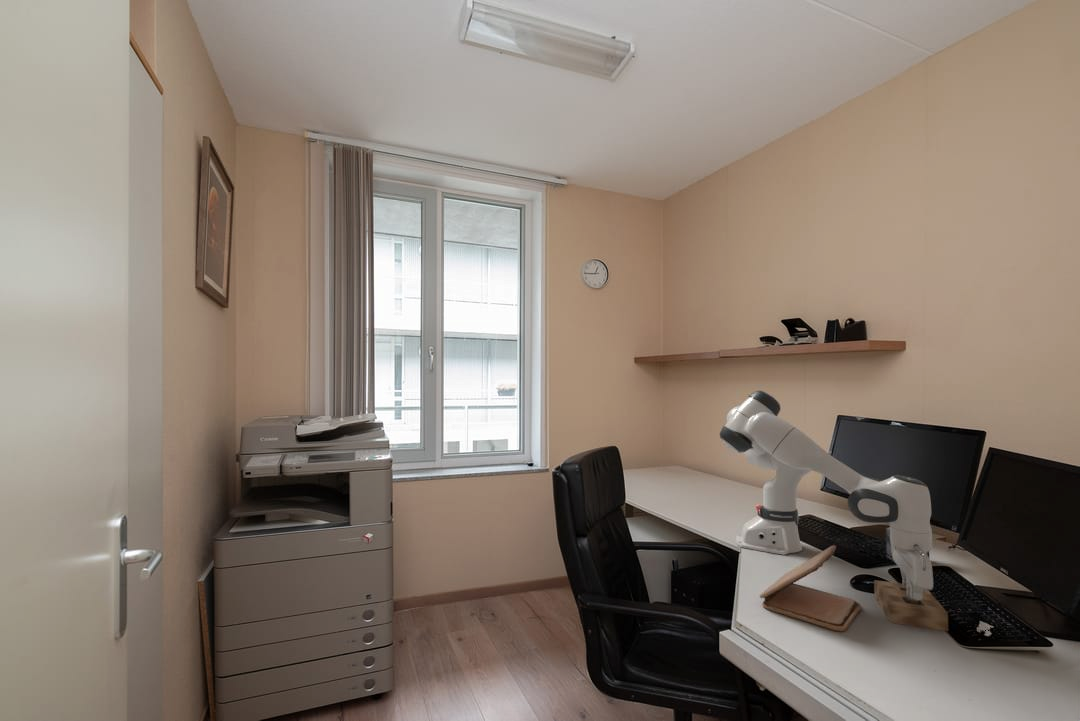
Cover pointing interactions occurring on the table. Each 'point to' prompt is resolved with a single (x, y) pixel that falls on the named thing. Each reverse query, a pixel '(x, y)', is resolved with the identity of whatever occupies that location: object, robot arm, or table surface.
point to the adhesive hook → (984, 628)
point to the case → (810, 598)
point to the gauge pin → (910, 592)
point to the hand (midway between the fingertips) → (912, 592)
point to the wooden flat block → (910, 607)
